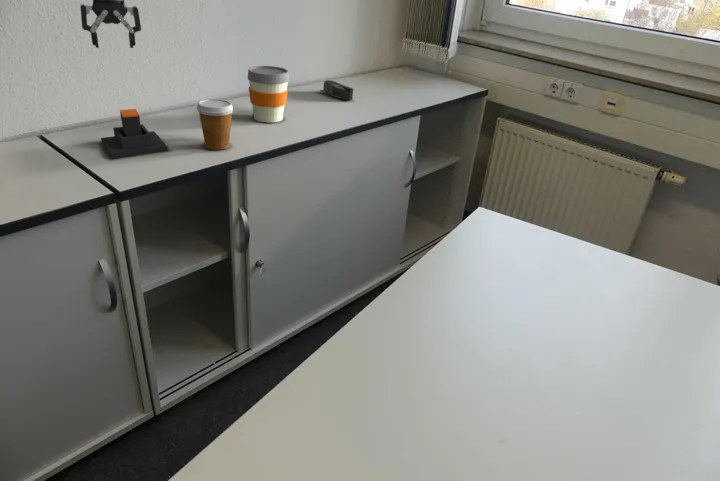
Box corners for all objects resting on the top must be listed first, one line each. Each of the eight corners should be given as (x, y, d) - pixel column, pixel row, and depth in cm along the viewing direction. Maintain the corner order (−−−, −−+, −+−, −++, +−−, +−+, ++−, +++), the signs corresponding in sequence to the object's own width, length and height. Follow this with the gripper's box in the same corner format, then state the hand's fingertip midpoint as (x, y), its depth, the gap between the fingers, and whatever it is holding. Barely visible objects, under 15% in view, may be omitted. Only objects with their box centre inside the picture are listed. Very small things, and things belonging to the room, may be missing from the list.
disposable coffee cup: (240, 149, 149) (239, 106, 143) (206, 154, 144) (204, 109, 138) (226, 138, 156) (225, 97, 150) (194, 142, 151) (191, 99, 145)
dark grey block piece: (354, 87, 193) (325, 77, 201) (349, 88, 191) (319, 78, 199) (353, 101, 196) (324, 90, 204) (347, 102, 194) (318, 91, 202)
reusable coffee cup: (251, 124, 165) (250, 74, 158) (245, 112, 175) (244, 65, 168) (292, 123, 169) (293, 75, 162) (283, 112, 179) (284, 65, 172)
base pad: (111, 159, 138) (109, 142, 135) (101, 143, 146) (98, 127, 144) (167, 151, 145) (165, 135, 142) (154, 136, 153) (152, 120, 151)
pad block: (127, 145, 142) (122, 116, 138) (124, 139, 146) (119, 110, 142) (143, 143, 144) (139, 114, 140) (140, 137, 147) (135, 108, 143)
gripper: (134, -19, 144) (141, 45, 151) (74, -22, 138) (84, 44, 145) (137, -16, 138) (144, 50, 145) (75, -20, 132) (85, 49, 140)
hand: (114, 47), depth 145 cm, fingers open, 8 cm apart
